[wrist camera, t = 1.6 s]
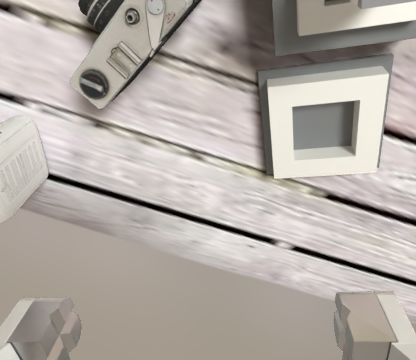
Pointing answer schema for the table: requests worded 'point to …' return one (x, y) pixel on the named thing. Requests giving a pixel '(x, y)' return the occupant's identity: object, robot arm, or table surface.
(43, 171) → the photo printer
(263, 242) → the table surface
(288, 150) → the frame
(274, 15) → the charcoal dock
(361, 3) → the plug
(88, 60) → the camera
